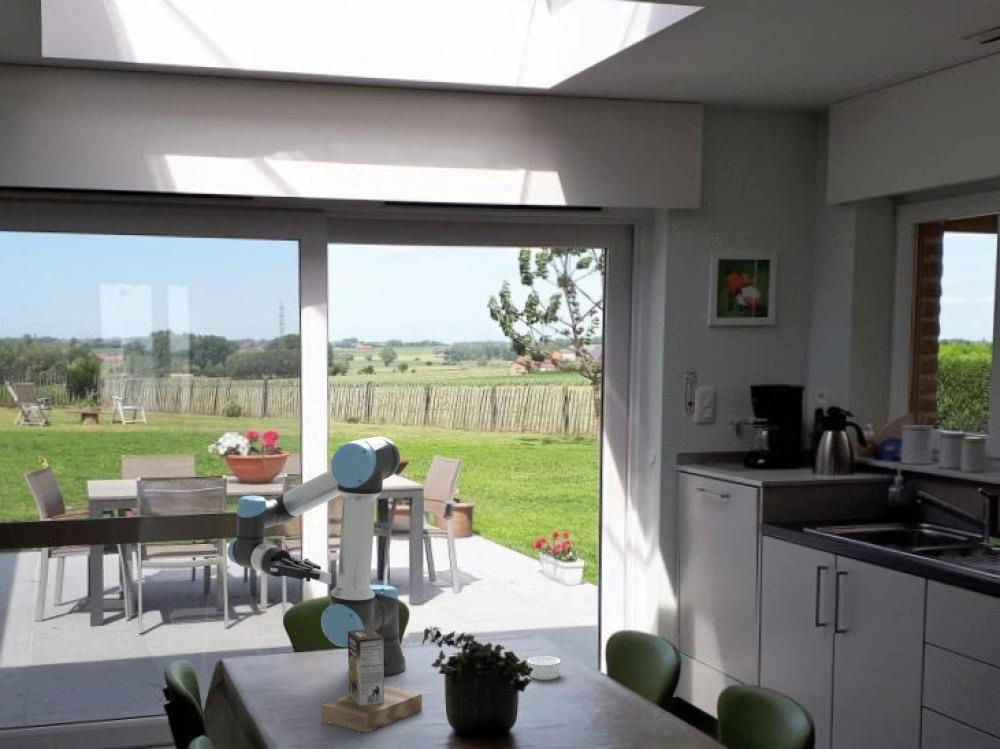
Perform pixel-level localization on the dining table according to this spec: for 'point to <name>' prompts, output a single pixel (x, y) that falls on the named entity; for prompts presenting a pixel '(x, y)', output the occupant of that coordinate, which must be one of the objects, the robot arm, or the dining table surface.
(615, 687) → the dining table surface
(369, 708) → the riser
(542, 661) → the ramekin
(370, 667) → the coffee box
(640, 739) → the dining table surface
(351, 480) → the robot arm
